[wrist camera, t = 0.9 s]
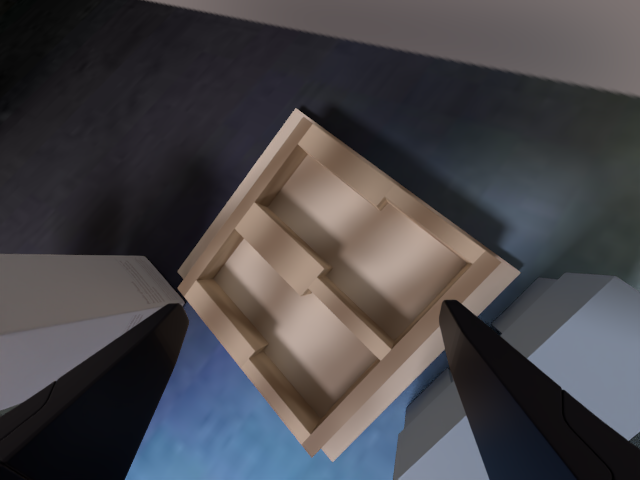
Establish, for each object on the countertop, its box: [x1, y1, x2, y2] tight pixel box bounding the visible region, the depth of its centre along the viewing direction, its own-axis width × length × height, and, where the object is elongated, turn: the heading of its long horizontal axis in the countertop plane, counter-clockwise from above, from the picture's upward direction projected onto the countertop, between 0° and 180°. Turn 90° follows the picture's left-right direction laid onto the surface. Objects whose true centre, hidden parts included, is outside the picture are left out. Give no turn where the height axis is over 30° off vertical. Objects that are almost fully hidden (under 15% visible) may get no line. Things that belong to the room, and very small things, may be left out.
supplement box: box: [0, 254, 185, 410], centre depth 22 cm, size 7×7×13 cm
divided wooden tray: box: [177, 108, 521, 462], centre depth 21 cm, size 20×18×3 cm
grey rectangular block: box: [393, 272, 640, 480], centre depth 14 cm, size 4×13×6 cm, turn 138°
